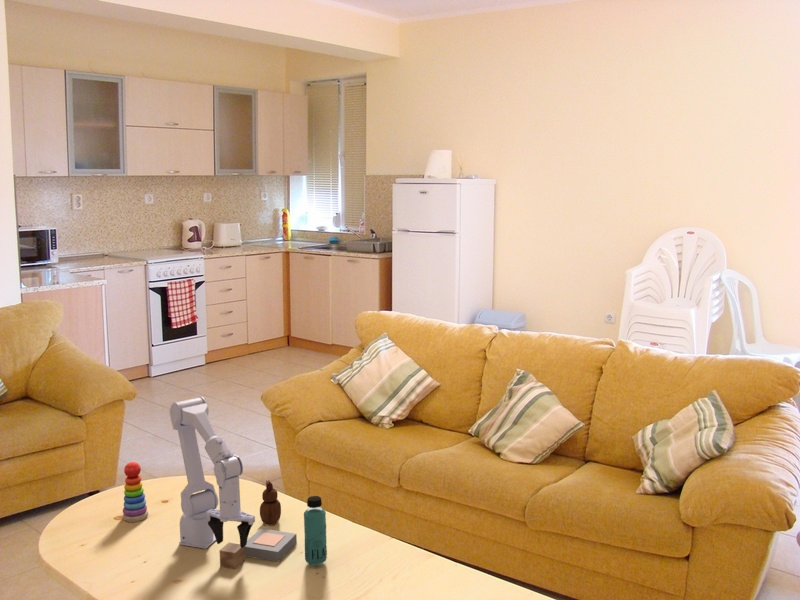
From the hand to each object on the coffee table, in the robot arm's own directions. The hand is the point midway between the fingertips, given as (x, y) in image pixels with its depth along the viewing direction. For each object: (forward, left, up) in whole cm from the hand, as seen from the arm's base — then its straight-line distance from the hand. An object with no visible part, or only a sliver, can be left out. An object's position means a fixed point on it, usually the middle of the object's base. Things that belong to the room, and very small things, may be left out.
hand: (231, 544), depth 218 cm
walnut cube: (0, 0, -6) cm, 6 cm away
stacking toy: (-46, +17, -6) cm, 50 cm away
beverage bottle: (+23, +7, -6) cm, 25 cm away
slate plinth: (+6, +11, -6) cm, 14 cm away
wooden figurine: (-2, +27, -6) cm, 28 cm away
